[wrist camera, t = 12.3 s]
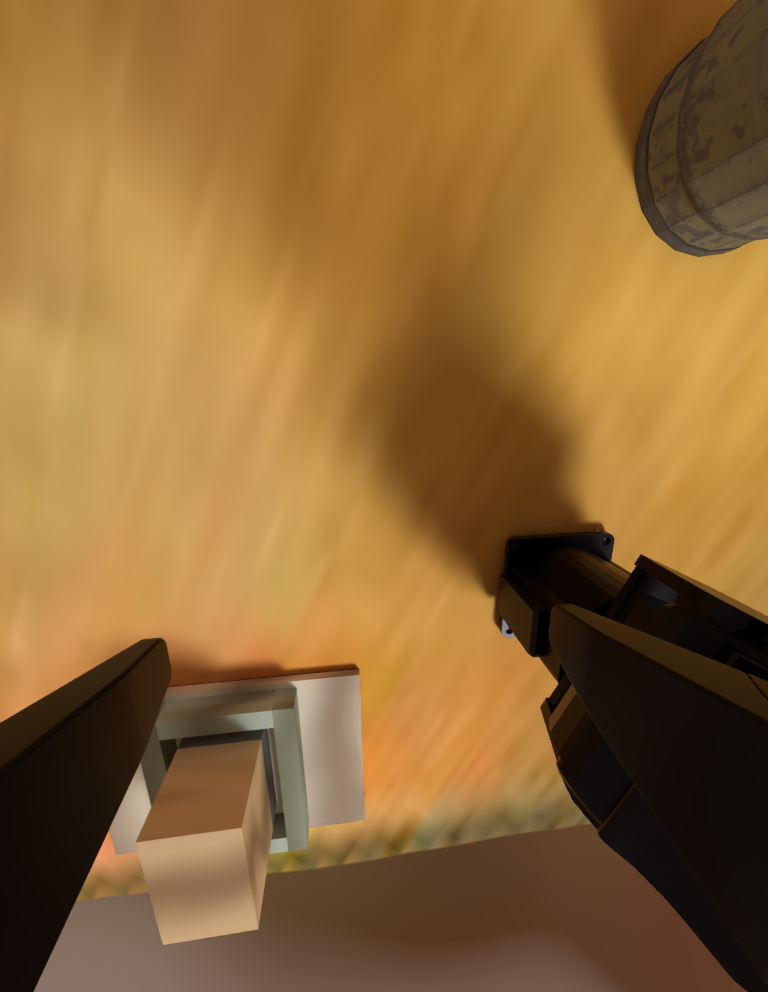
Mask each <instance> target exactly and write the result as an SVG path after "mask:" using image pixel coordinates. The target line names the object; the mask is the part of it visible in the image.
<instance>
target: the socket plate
mask: <svg viewBox="0 0 768 992" xmlns="http://www.w3.org/2000/svg"><path fill="white" fill-rule="evenodd" d="M258 729H267V730H268V738H269V746H270V754H271V762H272V770H273V778H274V786H275V794H276V802H277V805H276V811H275V818H274V825H273V832H272V838H271V845H270V852H269V854H272V853H279V852H286V851H293V850H300V849H307V848H308V834H309V828H313V827H320V826H327V825H334V824H341V823H349V822H356V821H363V820H365V807H364V781H363V755H362V728H361V702H360V676H359V669H353V670H343V671H332V672H322V673H311V674H301V675H291V676H280V677H270V678H259V679H249V680H238V681H228V682H217V683H207V684H196V685H186V686H175V687H168V689H167V691H166V694H165V697H164V700H163V703H162V706H161V709H160V711H159V714H158V717H157V720H156V723H155V726H154V728H153V731H152V734H151V737H150V740H149V742H148V745H147V748H146V750H145V753H144V755H143V757H142V760H141V762H140V764H139V767H138V769H137V771H136V773H135V775H134V777H133V779H132V782H131V784H130V786H129V788H128V790H127V792H126V794H125V797H124V799H123V801H122V803H121V805H120V807H119V809H118V812H117V814H116V816H115V818H114V820H113V822H112V824H111V827H110V829H109V831H110V835H111V838H112V842H113V845H114V848H115V852H116V855H119V854H126V853H134V852H138V850H137V846H136V843H135V842H136V840H137V838H138V836H139V833H140V831H141V829H142V827H143V825H144V822H145V820H146V818H147V816H148V813H149V811H150V809H151V807H152V804H153V802H154V800H155V798H156V796H157V793H158V791H159V789H160V787H161V784H162V782H163V780H164V778H165V776H166V773H167V771H168V769H169V767H170V764H171V762H172V760H173V758H174V755H175V753H176V751H177V749H178V747H179V744H180V742H181V740H182V738H185V737H195V736H204V735H213V734H222V733H231V732H240V731H249V730H258Z"/></svg>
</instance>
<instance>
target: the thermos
mask: <svg viewBox="0 0 768 992" xmlns="http://www.w3.org/2000/svg"><path fill="white" fill-rule="evenodd" d="M635 181H636V185H637V190H638V194H639V199H640V203H641V208H642V211H643V213H644V215H645V216H646V218H647V220H648V222H649V223H650V225H651V227H652V229H653V230H654V232H655V234H656V235H657V236H658V237H659V238H661V239H662V240H663V241H664V242H666V243H667V244H668V245H669V246H671V247H672V248H673V249H674V250H676V251H679V252H683V253H686V254H690V255H694V256H697V257H701V256H708V255H716V254H723V253H726V252H729V251H732V250H734V249H737V248H739V247H740V246H742V245H744V244H746V243H749V242H752V241H754V240H760V239H768V0H738V1H737V2H736V3H735V4H734V5H733V6H732V7H731V8H730V9H729V10H728V11H727V12H726V13H725V14H724V15H723V16H722V17H721V18H720V19H719V21H718V23H717V24H716V26H715V28H714V30H713V31H712V33H711V35H710V36H709V37H707V38H705V39H703V40H702V41H701V42H700V43H699V44H698V45H697V46H695V47H694V48H693V49H692V50H691V51H690V52H689V53H688V54H687V55H686V56H685V57H684V58H683V59H682V60H681V61H680V62H679V64H678V65H677V66H676V67H675V68H674V69H673V70H672V71H671V72H670V73H669V74H668V75H667V76H666V77H665V78H664V80H663V82H662V83H661V85H660V87H659V89H658V90H657V92H656V94H655V96H654V98H653V99H652V101H651V103H650V105H649V106H648V108H647V110H646V114H645V117H644V121H643V125H642V128H641V132H640V135H639V139H638V142H637V150H636V175H635Z"/></svg>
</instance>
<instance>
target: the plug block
mask: <svg viewBox="0 0 768 992" xmlns="http://www.w3.org/2000/svg"><path fill="white" fill-rule="evenodd" d="M276 805H277V802H276V794H275V786H274V778H273V770H272V762H271V754H270V746H269V738H268V730H267V729H258V730H249V731H240V732H231V733H222V734H213V735H204V736H195V737H185V738H182V740H181V742H180V744H179V747H178V749H177V751H176V753H175V755H174V758H173V760H172V762H171V764H170V767H169V769H168V771H167V773H166V776H165V778H164V780H163V782H162V784H161V787H160V789H159V791H158V793H157V796H156V798H155V800H154V802H153V804H152V807H151V809H150V811H149V813H148V816H147V818H146V820H145V822H144V825H143V827H142V829H141V831H140V833H139V836H138V838H137V840H136V842H135V843H136V846H137V850H138V854H139V857H140V861H141V865H142V869H143V872H144V876H145V880H146V883H147V887H148V891H149V894H150V898H151V902H152V905H153V909H154V913H155V917H156V920H157V924H158V928H159V931H160V935H161V939H162V942H163V945H166V944H172V943H178V942H183V941H190V940H195V939H201V938H208V937H214V936H219V935H226V934H232V933H238V932H244V931H250V930H255V929H258V925H259V919H260V912H261V906H262V899H263V892H264V886H265V879H266V872H267V865H268V859H269V852H270V845H271V838H272V832H273V825H274V818H275V811H276Z"/></svg>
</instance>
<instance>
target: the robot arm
mask: <svg viewBox="0 0 768 992" xmlns="http://www.w3.org/2000/svg"><path fill="white" fill-rule="evenodd" d="M604 538H606V539H605V541H604V542H603V543H602V541H603V539H604ZM516 543H518V546H517V547H516V548H514V549H513V545H514V544H516ZM613 545H614V537H613V535H611V534H609V533H608V532H605V531H598V532H581V533H564V534H548V535H531V536H514V537H511V538H510V539H508V541H507V542H506V547H505V560H504V571H503V572H502V574H501V575H500V585H499V598H498V613H499V614H500V623H499V629H500V631H501V633H502V634H503V636H505V637H508V638H510V637H516V638H517V639H518V640H519V642H520V643H521V644H522V646H523V647H524V649H525V650H526V651H527V653H528V654H529V655H531V656H532V657H539V658H540V659H541V661H542V662H543V663H544V665H545V666H546V667H547V669H548V670H549V671H550V673H551V674H552V675H553V677H554V678H555V679H556V681H557V682H558V683H559V684H558V685H557V687H556V688H555V690H554V691H553V693H552V694H551V696H550V697H549V698H546V699H545V701H544V702H543V704H542V705H541V711H542V714H543V718H544V721H545V724H546V727H547V731H548V734H549V737H550V740H551V743H552V747H553V750H554V753H555V756H556V760H557V761H556V764H557V767H558V770H559V773H560V775H561V776H562V779H563V781H564V784H565V786H566V788H567V790H568V792H569V793H570V796H571V798H572V800H573V801H574V803H575V804H576V805H577V806H578V807H579V808H580V810H581V811H582V813H583V814H584V815H585V816H586V817H587V818H588V820H589V821H590V822H591V823H592V824H593V825H594V826H595V827H596V828H597V829H598V835H599V836H600V838H601V839H602V840H603V841H604V842H605V843H606V844H607V845H608V846H609V847H611V848H612V849H613V850H614V851H615V852H617V853H618V854H619V855H620V856H621V857H623V858H624V859H625V860H626V861H628V862H629V863H630V864H631V865H633V866H634V867H635V868H636V869H637V870H638V871H639V872H640V873H641V874H642V875H643V876H644V877H645V878H646V879H647V880H648V881H649V882H650V883H651V884H652V885H653V886H654V887H655V888H656V890H657V891H659V892H660V894H662V895H663V896H664V898H665V899H666V900H667V901H668V902H669V903H670V905H671V906H672V907H673V908H674V909H675V910H676V912H677V913H678V914H679V915H680V916H681V917H682V918H683V920H684V921H685V922H686V923H687V924H688V925H689V927H690V928H691V929H692V930H693V932H694V933H695V934H696V935H697V936H698V938H699V939H700V940H701V941H702V943H703V944H704V945H705V946H706V947H707V949H708V950H709V951H710V952H711V953H712V955H713V956H714V957H715V958H716V960H717V961H718V962H719V963H720V964H721V966H722V967H723V968H724V969H725V970H726V972H727V973H728V974H729V975H730V976H731V977H732V979H733V980H734V981H735V982H736V983H738V984H739V985H740V986H741V987H742V988H744V989H745V990H747V991H748V992H768V616H766V615H764V614H762V613H760V612H758V611H756V610H754V609H752V608H750V607H748V606H747V605H745V604H743V603H741V602H739V601H737V600H735V599H733V598H731V597H729V596H727V595H725V594H723V593H721V592H719V591H717V590H715V589H713V588H711V587H709V586H707V585H705V584H703V583H701V582H699V581H696V580H694V579H692V578H690V577H688V576H686V575H684V574H682V573H680V572H678V571H675V570H673V569H671V568H669V567H667V566H665V565H663V564H661V563H659V562H656V561H654V560H652V559H650V558H648V557H646V556H644V555H642V554H641V555H640V556H639V558H638V559H637V561H636V562H635V564H634V565H636V567H635V569H634V570H633V572H632V573H630V572H628V571H627V570H625V569H623V568H622V567H620V566H619V565H617V564H615V563H614V562H612V561H611V558H612V552H613ZM508 627H509V628H510V629H509V630H506V629H507V628H508ZM170 680H171V665H170V660H169V655H168V650H167V645H166V642H165V640H164V639H162V638H151V639H143V640H140V641H139V642H137V643H135V644H134V645H132V646H130V647H129V648H127V649H125V650H123V651H122V652H120V653H118V654H117V655H115V656H113V657H112V658H110V659H108V660H106V661H105V662H103V663H101V664H100V665H98V666H96V667H94V668H93V669H91V670H89V671H88V672H86V673H84V674H83V675H81V676H79V677H77V678H76V679H74V680H72V681H71V682H69V683H67V684H66V685H64V686H62V687H60V688H59V689H57V690H55V691H54V692H52V693H50V694H49V695H47V696H45V697H43V698H42V699H40V700H38V701H37V702H35V703H33V704H31V705H30V706H28V707H26V708H25V709H23V710H21V711H20V712H18V713H16V714H14V715H13V716H11V717H9V718H8V719H6V720H4V721H3V722H1V723H0V992H34V990H35V987H36V985H37V983H38V981H39V979H40V977H41V974H42V972H43V970H44V968H45V966H46V964H47V962H48V960H49V957H50V955H51V953H52V951H53V949H54V947H55V945H56V942H57V940H58V938H59V936H60V934H61V931H62V929H63V927H64V925H65V923H66V921H67V919H68V917H69V915H70V912H71V910H72V908H73V906H74V904H75V902H76V900H77V897H78V895H79V893H80V891H81V889H82V887H83V885H84V882H85V880H86V878H87V876H88V874H89V872H90V869H91V867H92V865H93V863H94V861H95V859H96V857H97V854H98V852H99V850H100V848H101V846H102V844H103V842H104V839H105V837H106V835H107V833H108V831H109V829H110V827H111V824H112V822H113V820H114V818H115V816H116V814H117V812H118V809H119V807H120V805H121V803H122V801H123V799H124V797H125V794H126V792H127V790H128V788H129V786H130V784H131V782H132V779H133V777H134V775H135V773H136V771H137V769H138V767H139V764H140V762H141V760H142V757H143V755H144V753H145V750H146V748H147V745H148V742H149V740H150V737H151V734H152V731H153V728H154V726H155V723H156V720H157V717H158V714H159V711H160V709H161V706H162V703H163V700H164V697H165V694H166V691H167V689H168V686H169V683H170Z"/></svg>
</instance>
